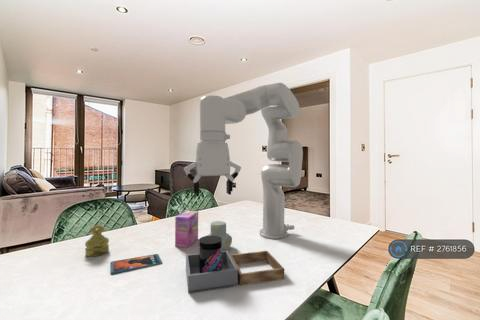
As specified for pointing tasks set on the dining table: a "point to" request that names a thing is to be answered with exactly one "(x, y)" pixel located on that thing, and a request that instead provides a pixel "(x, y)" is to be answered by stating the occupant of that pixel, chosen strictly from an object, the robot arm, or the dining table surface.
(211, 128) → the robot arm
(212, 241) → the supplement container
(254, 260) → the frame
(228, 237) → the air freshener
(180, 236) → the box
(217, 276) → the bin
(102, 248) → the olive green tiered piece
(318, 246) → the dining table surface
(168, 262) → the dining table surface
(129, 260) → the smartphone
